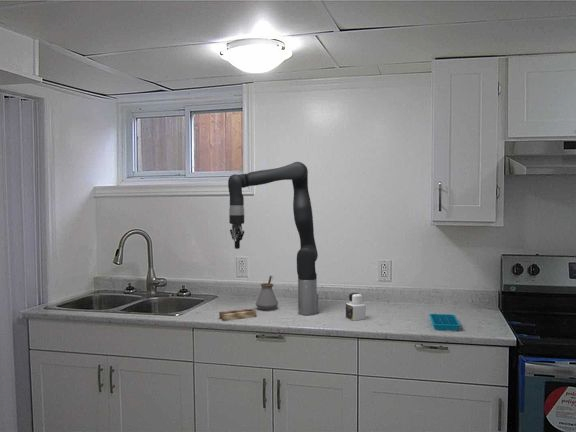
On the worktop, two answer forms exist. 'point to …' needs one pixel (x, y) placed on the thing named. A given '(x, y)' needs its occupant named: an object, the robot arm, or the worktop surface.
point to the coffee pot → (267, 297)
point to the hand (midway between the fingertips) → (237, 248)
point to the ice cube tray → (444, 322)
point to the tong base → (239, 315)
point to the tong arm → (232, 312)
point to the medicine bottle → (355, 307)
